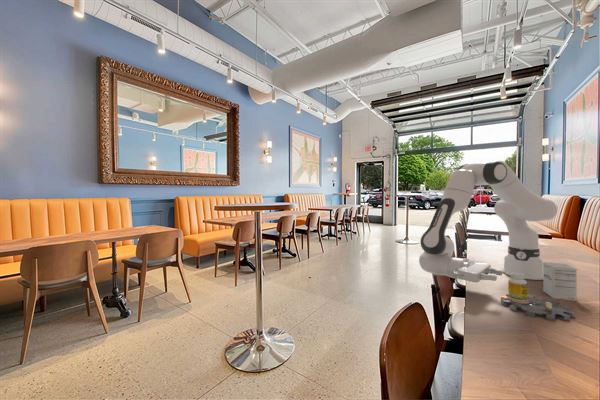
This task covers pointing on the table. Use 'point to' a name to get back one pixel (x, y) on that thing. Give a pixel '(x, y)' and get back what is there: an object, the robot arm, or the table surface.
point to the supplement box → (560, 281)
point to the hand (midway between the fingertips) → (499, 275)
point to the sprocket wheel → (539, 308)
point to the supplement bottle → (517, 287)
